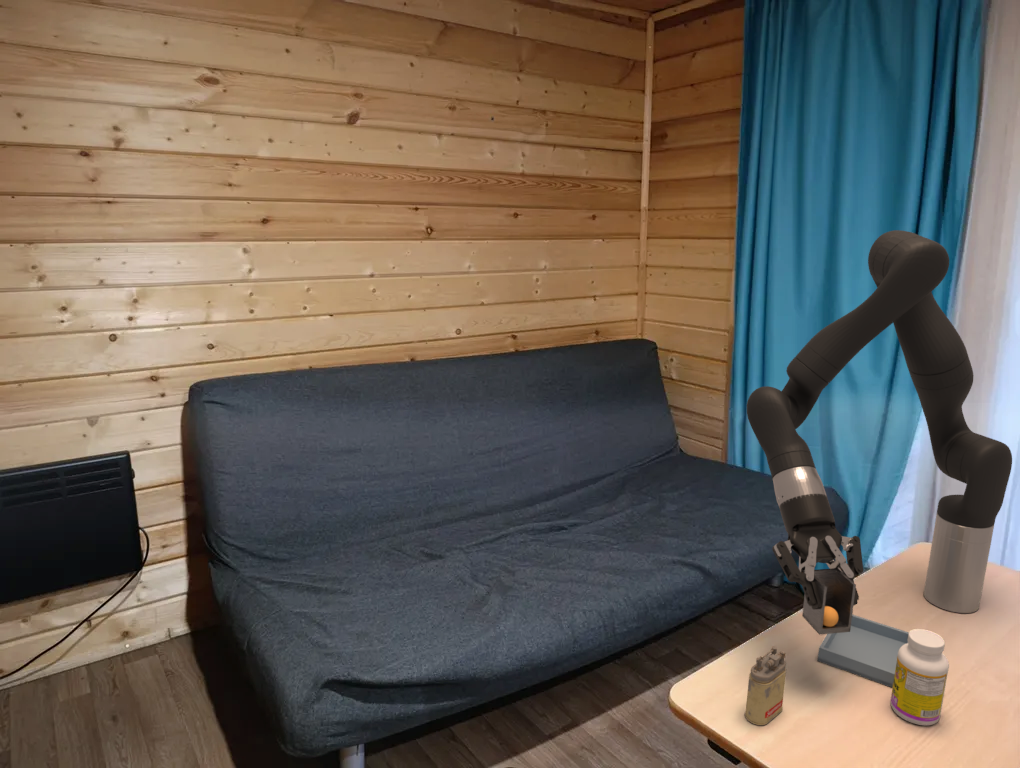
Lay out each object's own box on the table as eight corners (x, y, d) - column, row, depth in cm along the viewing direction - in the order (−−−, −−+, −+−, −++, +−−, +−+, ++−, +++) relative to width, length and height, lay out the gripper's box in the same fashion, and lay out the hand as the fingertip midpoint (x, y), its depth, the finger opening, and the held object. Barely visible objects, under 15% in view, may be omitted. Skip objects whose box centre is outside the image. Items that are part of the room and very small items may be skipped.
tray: (839, 622, 134) (840, 610, 133) (913, 647, 127) (915, 634, 126) (817, 660, 123) (819, 647, 123) (896, 689, 116) (898, 675, 116)
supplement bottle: (895, 691, 116) (907, 619, 112) (943, 710, 112) (956, 635, 108) (884, 714, 111) (896, 639, 107) (934, 734, 107) (948, 657, 103)
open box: (802, 616, 116) (807, 570, 114) (832, 613, 117) (837, 568, 115) (819, 634, 111) (824, 587, 109) (850, 631, 112) (856, 584, 110)
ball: (818, 604, 115) (821, 601, 112) (838, 612, 114) (842, 609, 111) (813, 623, 114) (816, 621, 111) (833, 631, 113) (837, 628, 110)
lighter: (760, 729, 108) (767, 670, 105) (738, 715, 110) (743, 657, 108) (786, 708, 112) (793, 650, 109) (764, 695, 115) (770, 639, 112)
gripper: (769, 494, 115) (801, 604, 107) (854, 489, 117) (892, 596, 109) (751, 511, 122) (780, 616, 114) (833, 505, 124) (867, 609, 115)
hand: (835, 606), depth 111 cm, fingers closed on open box, 5 cm apart
